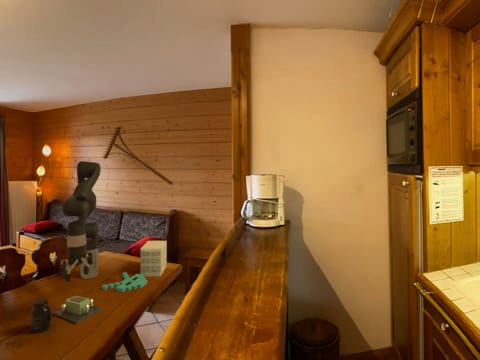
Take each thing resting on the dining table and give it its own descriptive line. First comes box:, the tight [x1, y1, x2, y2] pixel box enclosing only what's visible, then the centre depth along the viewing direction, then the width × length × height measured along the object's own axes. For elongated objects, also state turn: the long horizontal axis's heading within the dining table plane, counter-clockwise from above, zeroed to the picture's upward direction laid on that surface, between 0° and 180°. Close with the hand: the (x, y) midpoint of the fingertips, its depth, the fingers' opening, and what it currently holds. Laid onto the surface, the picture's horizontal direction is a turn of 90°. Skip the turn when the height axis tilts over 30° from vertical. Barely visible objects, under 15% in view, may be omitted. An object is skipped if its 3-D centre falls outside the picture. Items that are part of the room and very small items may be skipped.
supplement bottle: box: [30, 297, 52, 334], centre depth 113 cm, size 7×7×12 cm
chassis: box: [53, 297, 102, 325], centre depth 125 cm, size 16×12×5 cm
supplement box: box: [140, 240, 168, 277], centre depth 175 cm, size 17×13×18 cm
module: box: [65, 295, 91, 315], centre depth 125 cm, size 9×5×5 cm, turn 72°
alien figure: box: [101, 272, 148, 293], centre depth 157 cm, size 20×2×20 cm
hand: (77, 277), depth 125 cm, fingers open, 8 cm apart
